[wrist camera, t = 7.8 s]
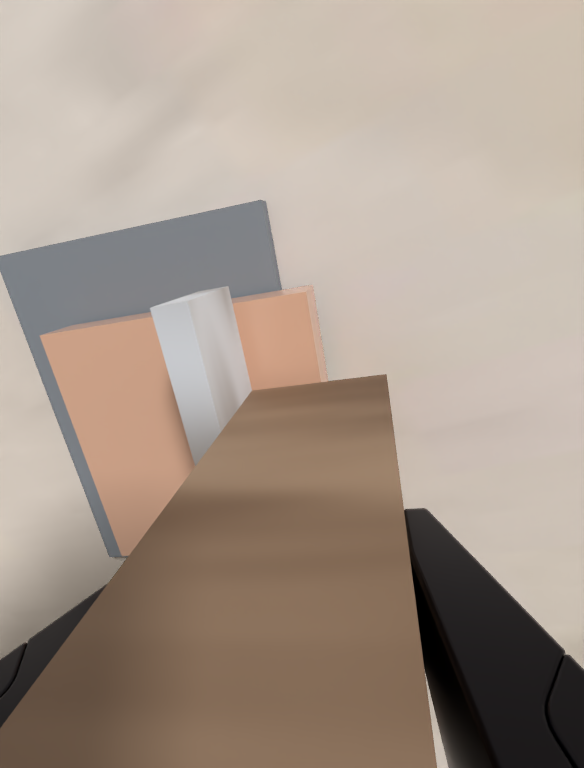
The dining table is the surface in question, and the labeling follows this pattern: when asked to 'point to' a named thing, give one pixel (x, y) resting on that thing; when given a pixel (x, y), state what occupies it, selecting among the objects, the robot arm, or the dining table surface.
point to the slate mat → (134, 288)
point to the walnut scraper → (249, 589)
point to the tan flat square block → (164, 396)
